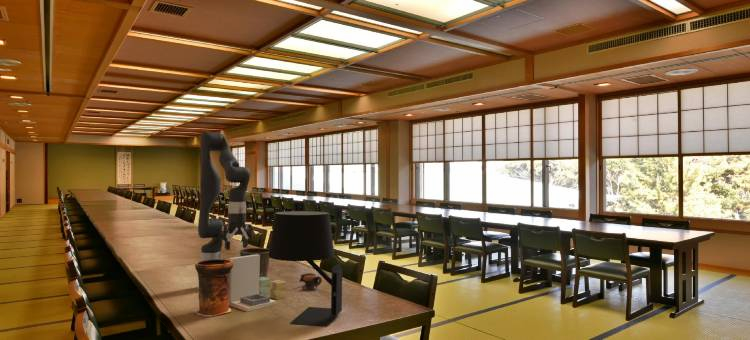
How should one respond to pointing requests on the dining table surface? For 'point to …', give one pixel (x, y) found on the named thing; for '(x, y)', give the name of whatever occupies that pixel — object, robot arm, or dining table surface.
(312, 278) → the pottery mug
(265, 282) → the sage block
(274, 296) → the mustard block
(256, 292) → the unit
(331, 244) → the table lamp
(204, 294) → the vessel
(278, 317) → the dining table surface
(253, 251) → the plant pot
